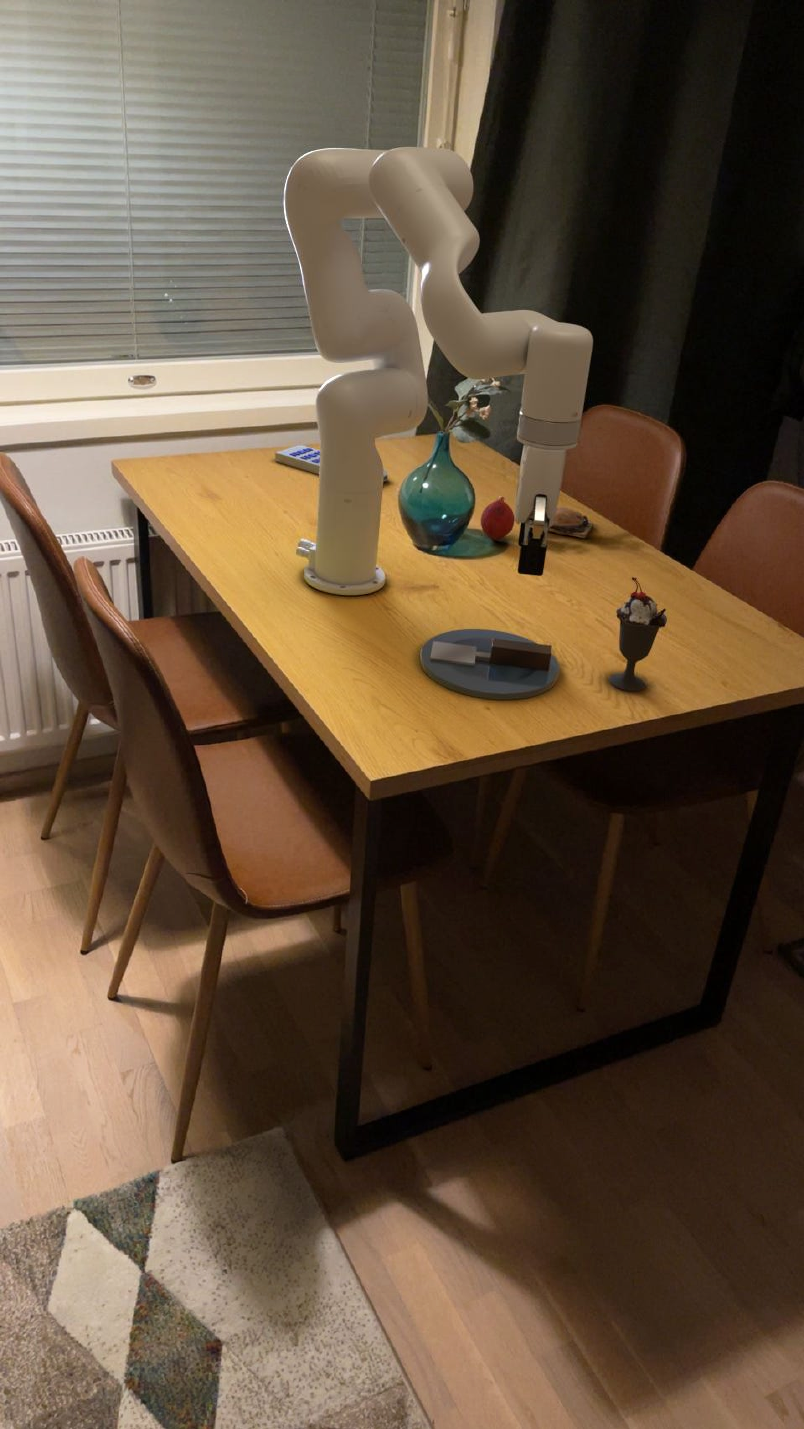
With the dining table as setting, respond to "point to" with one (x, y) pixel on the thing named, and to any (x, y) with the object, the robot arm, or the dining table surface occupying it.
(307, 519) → the dining table surface
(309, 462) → the remote control
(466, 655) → the spatula
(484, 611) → the dining table surface
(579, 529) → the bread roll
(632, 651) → the sundae
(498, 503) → the onion
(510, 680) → the plate
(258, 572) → the dining table surface
